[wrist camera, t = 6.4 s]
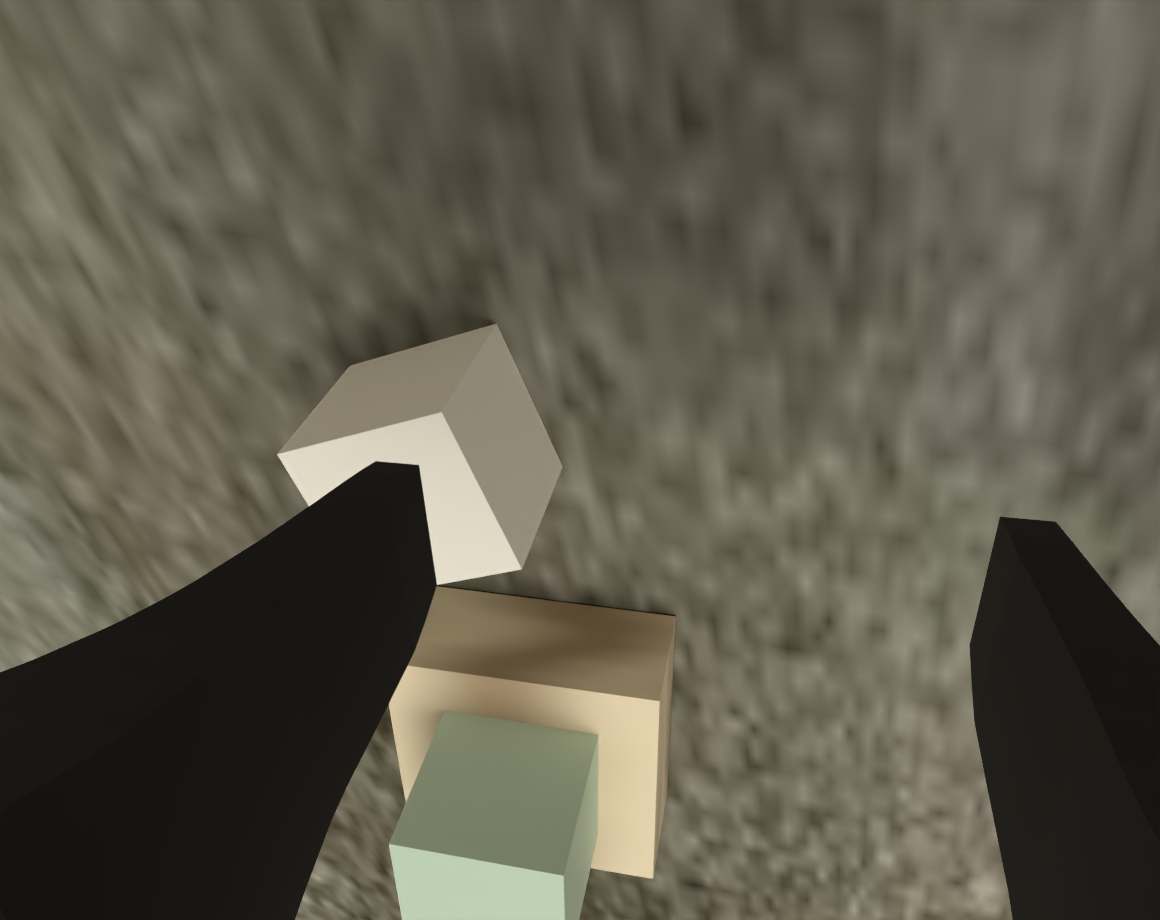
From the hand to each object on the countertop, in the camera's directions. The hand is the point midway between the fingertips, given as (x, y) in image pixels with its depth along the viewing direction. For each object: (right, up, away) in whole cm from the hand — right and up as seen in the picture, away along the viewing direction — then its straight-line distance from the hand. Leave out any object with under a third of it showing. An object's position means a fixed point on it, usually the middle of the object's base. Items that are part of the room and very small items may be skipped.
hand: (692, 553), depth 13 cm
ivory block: (-4, +2, +12) cm, 13 cm away
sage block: (-3, -7, +14) cm, 16 cm away
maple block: (-2, -5, +16) cm, 17 cm away
